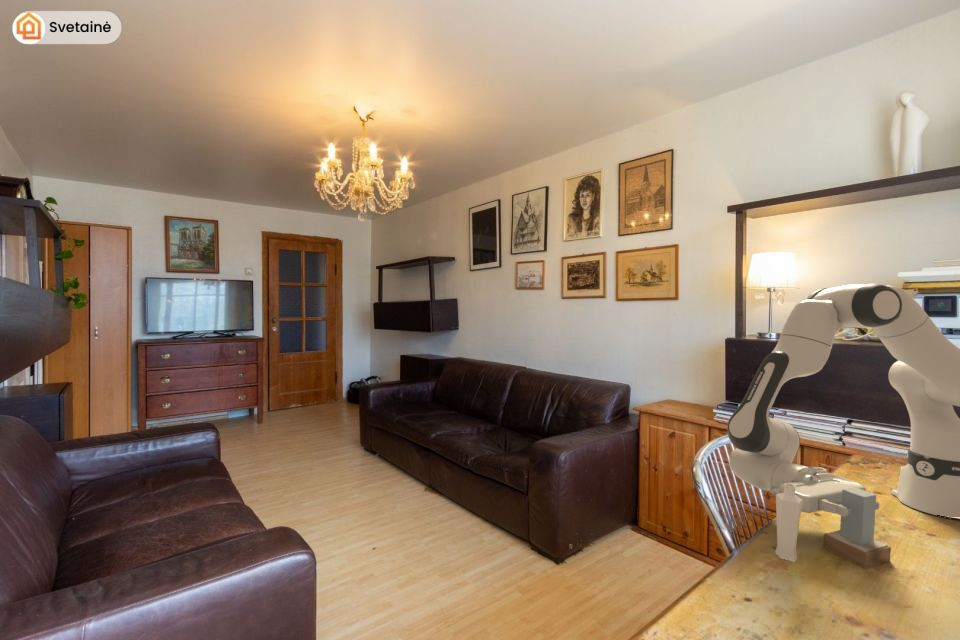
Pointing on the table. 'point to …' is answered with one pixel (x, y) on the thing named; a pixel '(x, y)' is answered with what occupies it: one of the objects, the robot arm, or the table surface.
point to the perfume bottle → (787, 522)
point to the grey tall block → (858, 516)
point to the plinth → (857, 550)
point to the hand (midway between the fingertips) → (863, 509)
